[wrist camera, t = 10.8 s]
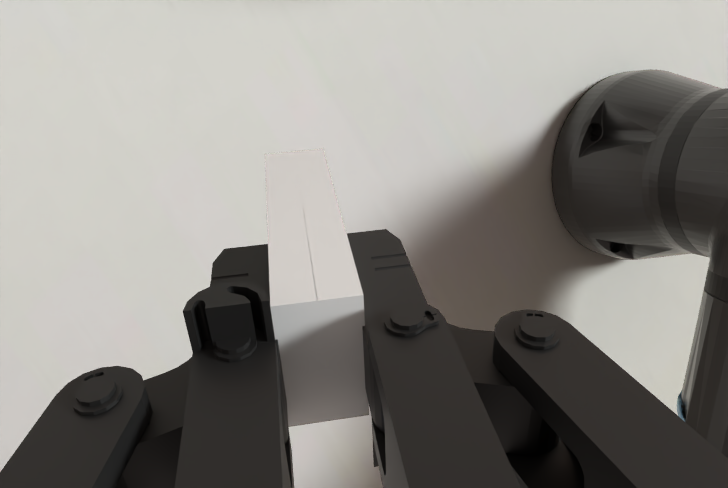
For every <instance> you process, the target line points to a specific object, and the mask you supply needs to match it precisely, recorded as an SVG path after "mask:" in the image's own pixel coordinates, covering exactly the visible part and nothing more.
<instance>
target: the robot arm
mask: <svg viewBox="0 0 728 488" xmlns="http://www.w3.org/2000/svg"><path fill="white" fill-rule="evenodd" d="M265 172H266V201H267V229H268V244H264V245H255V246H246V247H237V248H228V249H224V250H223V251H222V252H221V254H220V255H219V256H218V257H217V259H216V260H215V261H214V262H213V267H212V275H211V284H210V287H209V288H206V289H204V290H202V291H200V292H198V293H197V294H196V295H194V296H193V297H192V298H191V299H190V300H189V301H188V302H187V304H186V306H185V308H184V310H183V314H184V318H185V322H186V326H187V330H188V334H189V338H190V343H191V347H192V351H193V355H192V357H191V358H190V359H189V360H188V361H187V362H185V363H183V364H182V365H180V366H179V367H177V368H175V369H173V370H170V371H168V372H166V373H163V374H161V375H158V376H155V377H152V378H149V379H147V380H144V381H143V379H142V376H141V375H140V374H139V373H137V372H136V371H135V370H133V369H131V368H126V367H121V366H113V367H103V368H99V369H96V370H93V371H90V372H87V373H84V374H82V375H81V376H79V377H77V378H76V379H74V380H72V381H71V382H69V383H68V384H67V385H66V386H65V387H64V388H63V389H62V390H61V391H60V392H59V393H58V394H57V395H56V396H55V397H54V399H53V400H52V401H51V403H50V404H49V406H48V407H47V408H46V410H45V411H44V412H43V414H42V415H41V417H40V418H39V419H38V421H37V422H36V424H35V425H34V426H33V428H32V429H31V430H30V432H29V433H28V435H27V436H26V437H25V439H24V440H23V442H22V443H21V444H20V446H19V447H18V448H17V450H16V451H15V453H14V454H13V455H12V457H11V458H10V460H9V461H8V462H7V464H6V465H5V466H4V468H3V469H2V471H1V472H0V488H294V478H293V464H292V450H291V443H290V437H289V428H288V427H290V426H297V425H304V424H310V423H317V422H324V421H330V420H337V419H344V418H351V417H357V416H364V415H369V407H370V411H371V416H372V434H373V457H374V467H376V466H379V470H380V474H381V479H382V484H383V488H728V89H721V88H718V87H715V86H712V85H709V84H706V83H703V82H699V81H696V80H693V79H690V78H687V77H684V76H680V75H677V74H674V73H671V72H667V71H661V70H641V71H630V72H623V73H619V74H615V75H612V76H610V77H608V78H606V79H604V80H602V81H600V82H599V83H597V84H596V85H594V86H593V87H592V88H591V89H589V90H588V91H587V92H586V93H585V94H584V95H583V96H582V97H581V99H580V100H579V101H578V102H577V103H576V105H575V106H574V108H573V109H572V110H571V112H570V114H569V115H568V117H567V119H566V121H565V123H564V125H563V127H562V130H561V132H560V135H559V138H558V141H557V144H556V148H555V153H554V159H553V168H552V184H553V193H554V199H555V203H556V207H557V210H558V213H559V215H560V217H561V219H562V221H563V223H564V225H565V227H566V228H567V230H568V231H569V232H570V234H571V235H572V236H573V237H574V238H575V239H576V240H577V241H578V242H579V243H580V244H582V245H583V246H585V247H586V248H588V249H590V250H592V251H594V252H597V253H601V254H604V255H608V256H612V257H615V258H620V259H629V260H638V259H647V258H655V257H664V256H673V255H682V254H691V253H692V254H697V255H702V256H706V257H710V262H709V267H708V272H707V277H706V282H705V287H704V291H703V296H702V300H701V305H700V310H699V315H698V320H697V325H696V329H695V334H694V339H693V343H692V348H691V352H690V357H689V362H688V366H687V371H686V375H685V380H684V384H683V389H682V391H681V393H680V394H679V396H678V399H677V412H678V416H677V415H676V414H675V413H674V412H673V411H671V410H670V409H669V408H668V407H667V406H666V405H664V404H663V403H662V402H661V401H660V400H659V399H657V398H656V397H655V396H654V395H653V394H652V393H650V392H649V391H648V390H647V389H646V388H645V387H643V386H642V385H641V384H640V383H639V382H637V381H636V380H635V379H634V378H633V377H632V376H630V375H629V374H628V373H627V372H626V371H625V370H623V369H622V368H621V367H620V366H619V365H618V364H616V363H615V362H614V361H613V360H612V359H610V358H609V357H608V356H607V355H606V354H605V353H603V352H602V351H601V350H600V349H599V348H598V347H596V346H595V345H594V344H593V343H592V342H591V341H589V340H588V339H587V338H586V337H585V336H584V335H582V334H581V333H580V332H579V331H578V330H576V329H575V328H574V327H573V326H572V325H571V324H569V323H568V322H566V321H565V320H563V319H561V318H560V317H558V316H556V315H553V314H550V313H547V312H544V311H536V310H521V311H515V312H511V313H509V314H507V315H505V316H503V317H501V319H500V320H499V321H498V323H497V324H496V325H495V332H492V331H481V330H471V329H465V328H459V327H456V326H453V325H450V324H448V323H447V322H446V320H445V318H444V317H443V316H442V314H441V313H440V312H439V311H438V310H437V309H435V308H433V307H432V306H430V305H428V304H427V302H426V300H425V297H424V295H423V293H422V290H421V288H420V286H419V283H418V281H417V278H416V276H415V274H414V271H413V269H412V267H411V266H410V262H409V260H408V257H407V256H406V253H405V250H404V248H403V246H402V243H401V241H400V239H398V238H397V237H396V236H394V235H393V234H392V233H390V232H389V231H388V230H386V229H384V230H375V231H366V232H357V233H348V234H347V233H346V229H345V226H344V222H343V218H342V215H341V211H340V207H339V204H338V200H337V196H336V193H335V189H334V185H333V182H332V178H331V174H330V171H329V167H328V163H327V160H326V156H325V152H324V149H313V150H302V151H291V152H281V153H270V154H265ZM368 402H369V404H368Z"/></svg>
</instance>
